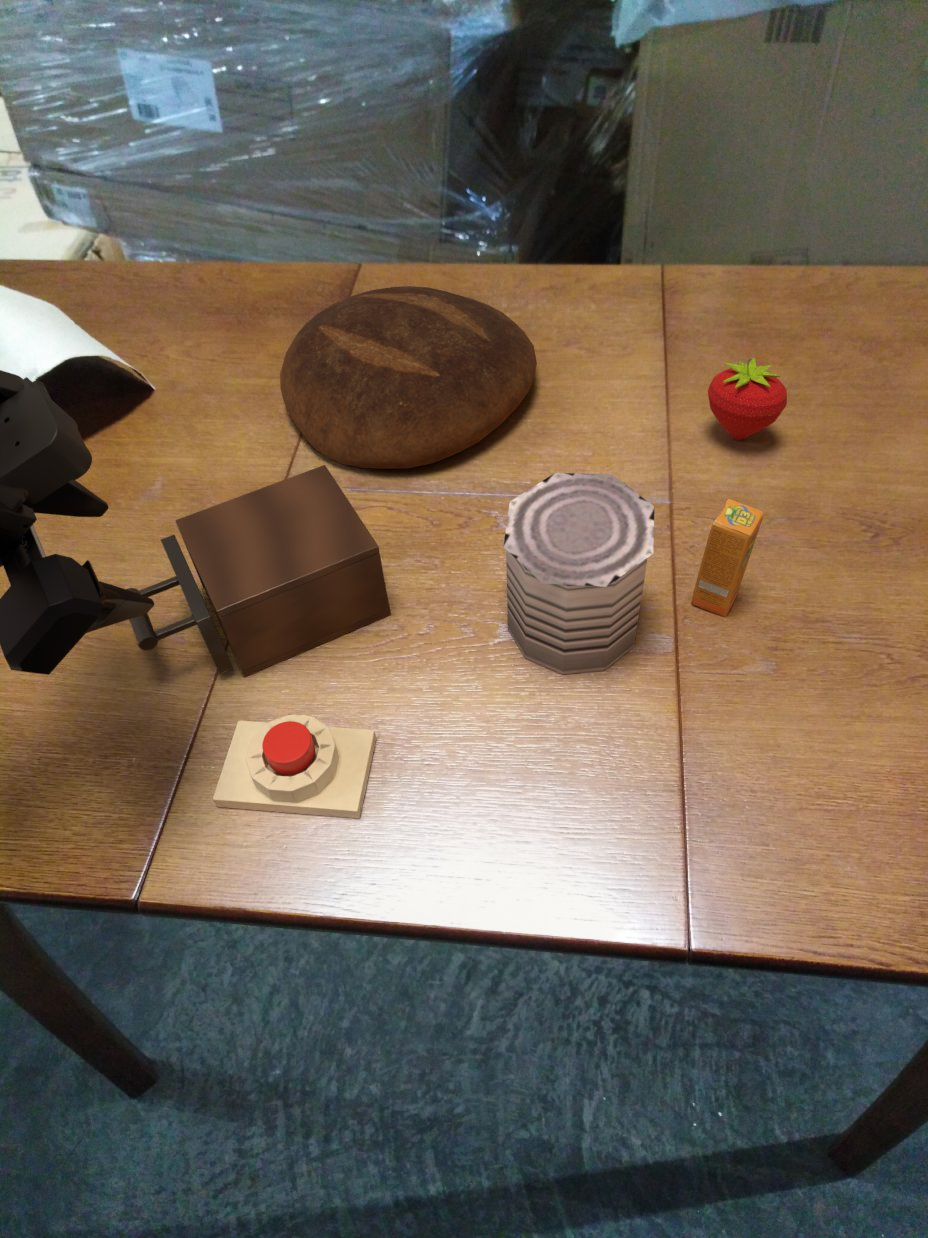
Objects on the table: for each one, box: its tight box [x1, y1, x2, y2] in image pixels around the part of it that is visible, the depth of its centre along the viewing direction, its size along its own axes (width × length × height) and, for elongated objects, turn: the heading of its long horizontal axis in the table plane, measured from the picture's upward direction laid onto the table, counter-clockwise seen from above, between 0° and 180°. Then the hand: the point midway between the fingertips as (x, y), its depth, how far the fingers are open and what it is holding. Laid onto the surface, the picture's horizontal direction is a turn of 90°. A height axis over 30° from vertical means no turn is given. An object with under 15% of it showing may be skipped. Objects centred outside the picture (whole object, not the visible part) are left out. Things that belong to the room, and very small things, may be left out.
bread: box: [279, 285, 538, 470], centre depth 95 cm, size 28×27×9 cm
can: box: [503, 472, 655, 676], centre depth 72 cm, size 11×11×12 cm
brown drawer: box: [125, 534, 234, 675], centre depth 75 cm, size 17×10×7 cm, turn 118°
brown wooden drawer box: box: [174, 464, 392, 678], centre depth 77 cm, size 14×12×9 cm
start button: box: [262, 721, 315, 775], centre depth 66 cm, size 4×4×2 cm
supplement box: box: [690, 498, 765, 617], centre depth 73 cm, size 3×3×10 cm
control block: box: [212, 713, 377, 819], centre depth 67 cm, size 11×7×3 cm, turn 83°
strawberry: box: [707, 357, 788, 441], centre depth 87 cm, size 6×8×10 cm
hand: (126, 557), depth 61 cm, fingers open, 9 cm apart
